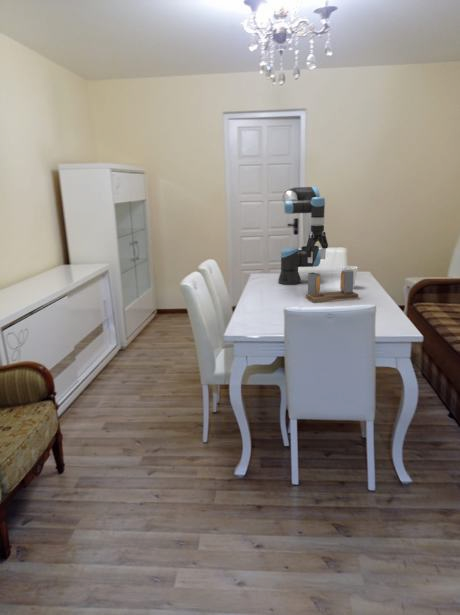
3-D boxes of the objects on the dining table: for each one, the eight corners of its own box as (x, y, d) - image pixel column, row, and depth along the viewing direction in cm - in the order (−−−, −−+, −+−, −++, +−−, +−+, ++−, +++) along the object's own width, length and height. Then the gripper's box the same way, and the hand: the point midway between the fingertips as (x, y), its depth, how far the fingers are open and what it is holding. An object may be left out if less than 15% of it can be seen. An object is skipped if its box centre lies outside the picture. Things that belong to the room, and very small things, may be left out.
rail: (306, 298, 254) (306, 294, 253) (349, 294, 259) (349, 290, 259) (313, 302, 244) (313, 298, 243) (358, 298, 250) (358, 294, 249)
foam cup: (355, 289, 270) (356, 269, 267) (340, 288, 274) (340, 268, 270) (357, 286, 278) (358, 266, 275) (342, 285, 282) (343, 265, 279)
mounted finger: (352, 293, 252) (353, 271, 248) (343, 294, 251) (344, 272, 247) (349, 291, 256) (350, 270, 252) (339, 292, 254) (340, 270, 251)
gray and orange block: (311, 293, 265) (312, 272, 262) (319, 294, 261) (320, 273, 257) (307, 294, 263) (308, 273, 259) (316, 296, 258) (316, 274, 255)
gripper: (323, 222, 260) (322, 257, 267) (299, 226, 244) (298, 263, 250) (334, 222, 255) (333, 258, 262) (310, 227, 239) (309, 265, 245)
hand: (316, 261), depth 256 cm, fingers open, 13 cm apart
